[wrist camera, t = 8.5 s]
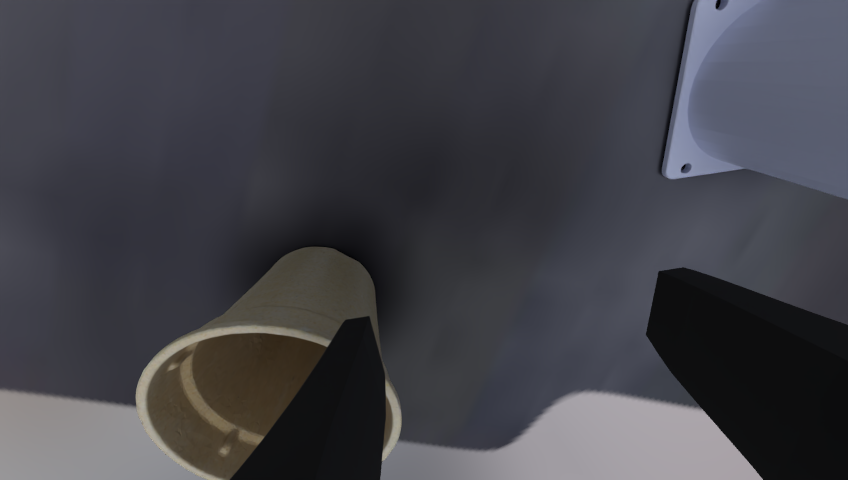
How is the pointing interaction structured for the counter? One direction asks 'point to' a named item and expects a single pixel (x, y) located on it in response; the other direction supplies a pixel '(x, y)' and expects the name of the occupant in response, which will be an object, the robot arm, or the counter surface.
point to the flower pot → (255, 363)
